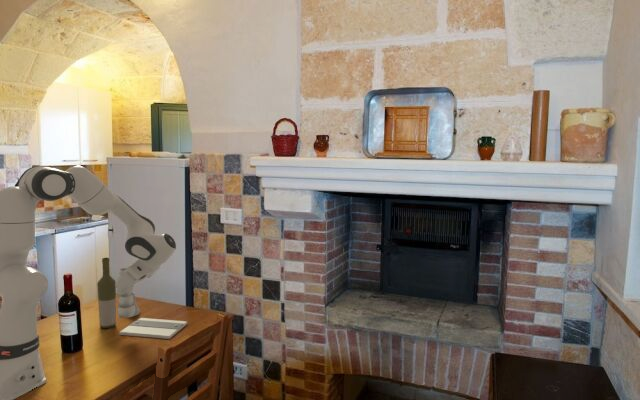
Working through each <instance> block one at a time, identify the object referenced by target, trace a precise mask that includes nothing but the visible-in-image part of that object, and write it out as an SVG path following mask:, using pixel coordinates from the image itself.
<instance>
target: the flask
mask: <svg viewBox="0 0 640 400" xmlns="http://www.w3.org/2000/svg"><path fill="white" fill-rule="evenodd" d="M135 295H136V293H135V292H133V301H134V306H135V314H134V315H133V316H132V317H136V316H139V315H140V314H141V311H140V308H139V306H138V304H137V301H136V296H135ZM132 317H131V318H132Z"/></svg>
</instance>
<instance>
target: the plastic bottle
mask: <svg viewBox="0 0 640 400" xmlns="http://www.w3.org/2000/svg"><path fill="white" fill-rule="evenodd" d="M126 268H127V267H123V268H120V269H119V273H118V274H119V276H118V277H117V279H116V280H115V282H117V281H118V279H119V278H120V277H121V276H122V275H123V274H124V273H125V272H126V271H127V270H126ZM133 293H134V285H132V286H130V287H128V288H127V289H125V290H123V291H122V292H121V293H118V292H117V297H118V305H117V315H118V317H119V318H121V319H128V318H132V316H133V315H134V314H135V306H134V301H133ZM133 317H134V316H133Z"/></svg>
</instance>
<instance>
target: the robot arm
mask: <svg viewBox="0 0 640 400" xmlns="http://www.w3.org/2000/svg"><path fill="white" fill-rule="evenodd" d="M67 196H68V197H70V198H71V199H72V200H73V201H74V202H75V203H76V204H77V205H78V206H79V207H80V208H81V209H83V211H84V212H86V213H87V214H90V215H91V216H103V215H105V214H107V213H111V214H113V215H114V216H115V217H116V218H117V219H118V220H120V221H121V222H122V223H123V224H124V225H125V227H126V230H127V234H126V238H125V244H124V248H125V251H126V253H127V254H128V255H130V256H132V257H133V258H134V257H135V258H136V259H135V260H134V262H132V263H131V264H129V266H127V267H125V268H126V270H127V271H126V272H125V273H124V274H123V275H122V276H121V277H120V278H119V277H118V278H119V279H118V278H117V279H118V281H117V280H116V281H117V282H116V281H115V282H116V283H115V287H116V293H117V294H118V293H121V292H122V291H123V290H125V289H127V288H128V287H130V286H132V285H133V286H135V285H136V284H137V283H139V282H142V281H144V280H145V279H150V278H151V277H152V276H153V275H155V274H156V272H158V270H159V269H160V268H161V266H162V265H164V264H165V263H166V262H168V260H170V258H171V257H172V256H173V254H174V253H175V252H176V249H177V243H176V241H175V239H174V237H173V236H171V235H170V234H168V233H163V234H157V233H156V234H155V232H156V226H155V223H154V222H153V221H152V220H151V219H149V218H147V217H146V216H143V215H142V214H140V213H138V212H137V211H136V210H135V209H134V208H133V207H132V206H130V205H129V204H128V203H127V202H126V201H125V200H124V199H123V198H121V197H120V196H119V195H117V194H116V193H115V192H113V191H112V190H111V189H110V188H109V187H108V186H107V185H106V184H105V183H104V182H103V181H102V180H101V179H100V178H99V177H98V176H97V175H95V174H94V173H93V172H91V171H90V170H89V169H88V168H86V167H84V166H81V165H74V166H70V167H69V168H67V169H66V170H65V171H64V170H61V169H58V168H55V167H50V166H46V165H45V166H44V165H43V166H37V165H36V166H32V167H29V168H27V169H26V170H25V171H24V172H22V174H21V175H20V177H19V178H18V180H17V182H16V183H15V184H14V186H7V187H5V188H2V189H1V190H0V297H1V308H0V400H16V399H18V398H19V397H21V396H23V395H25V394H27V393H29V392H30V391H32V389H33V390H35V389H36V387H37V388H39V387H41V386H42V385H44V384H46V383H47V378H46V373H45V371H44V368H43V362H42V357H41V354H40V350H39V347H40V337H39V336H40V335H39V334H38V323H37V320H38V319H37V315H38V308H39V307H38V306H39V304H40V301H41V298H42V297H43V296H44V295H45V294H46V292H47V290H48V287H49V281H48V278H47V276H46V275H45V274H43V273H42V272H41V270H40V271H39V270H38V269H36V268H34V267H31V266H28V265H27V259H28V257H29V253H30V251H31V250H32V249H33V248H34V246H35V243H36V214H35V213H36V209H37V205H38V204H39V202H41V201H48V202H54V201H59V200H60V199H63V198H65V197H67ZM34 388H35V389H34Z"/></svg>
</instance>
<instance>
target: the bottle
mask: <svg viewBox="0 0 640 400" xmlns="http://www.w3.org/2000/svg"><path fill="white" fill-rule="evenodd" d="M101 262H102V277H100V279H99V280H98V281H97V285H96V286H97V299H98V300H97V302H98V304H97V305H98V320H99V321H98V323H99V326H100V328H102V329H110V328H113V327H115V326H116V325H117V304H116V303H117V298H116V297H117V296H116V295H117V288H116V287H115V283H116V280H115V279H114V278H113V277H112V276H111V273H110V258H109V257H103V258H102V259H101Z"/></svg>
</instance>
